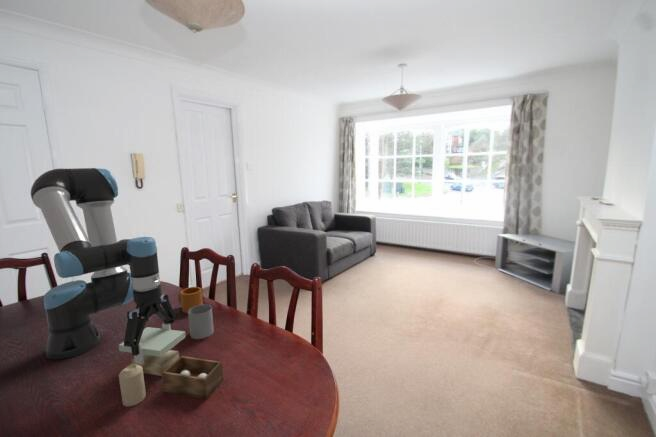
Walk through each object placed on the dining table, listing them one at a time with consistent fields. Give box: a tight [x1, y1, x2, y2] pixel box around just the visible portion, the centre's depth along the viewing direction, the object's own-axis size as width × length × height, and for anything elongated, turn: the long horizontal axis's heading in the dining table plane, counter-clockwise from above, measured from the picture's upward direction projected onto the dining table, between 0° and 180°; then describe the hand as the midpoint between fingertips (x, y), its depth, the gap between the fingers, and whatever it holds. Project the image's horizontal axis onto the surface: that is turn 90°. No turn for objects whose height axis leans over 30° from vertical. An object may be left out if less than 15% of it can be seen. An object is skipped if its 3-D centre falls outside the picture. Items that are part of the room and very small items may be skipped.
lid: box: [118, 326, 186, 357], centre depth 96 cm, size 15×11×2 cm
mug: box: [177, 286, 204, 314], centre depth 139 cm, size 9×12×9 cm
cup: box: [187, 304, 214, 340], centre depth 117 cm, size 8×8×10 cm
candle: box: [118, 363, 147, 408], centre depth 83 cm, size 6×6×10 cm
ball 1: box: [180, 370, 191, 376], centre depth 89 cm, size 3×3×3 cm
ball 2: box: [198, 373, 207, 378], centre depth 88 cm, size 3×3×3 cm
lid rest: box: [130, 349, 180, 377], centre depth 98 cm, size 12×7×4 cm, turn 77°
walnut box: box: [161, 355, 224, 400], centre depth 89 cm, size 14×8×6 cm, turn 77°
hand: (154, 351), depth 97 cm, fingers closed on lid, 11 cm apart
